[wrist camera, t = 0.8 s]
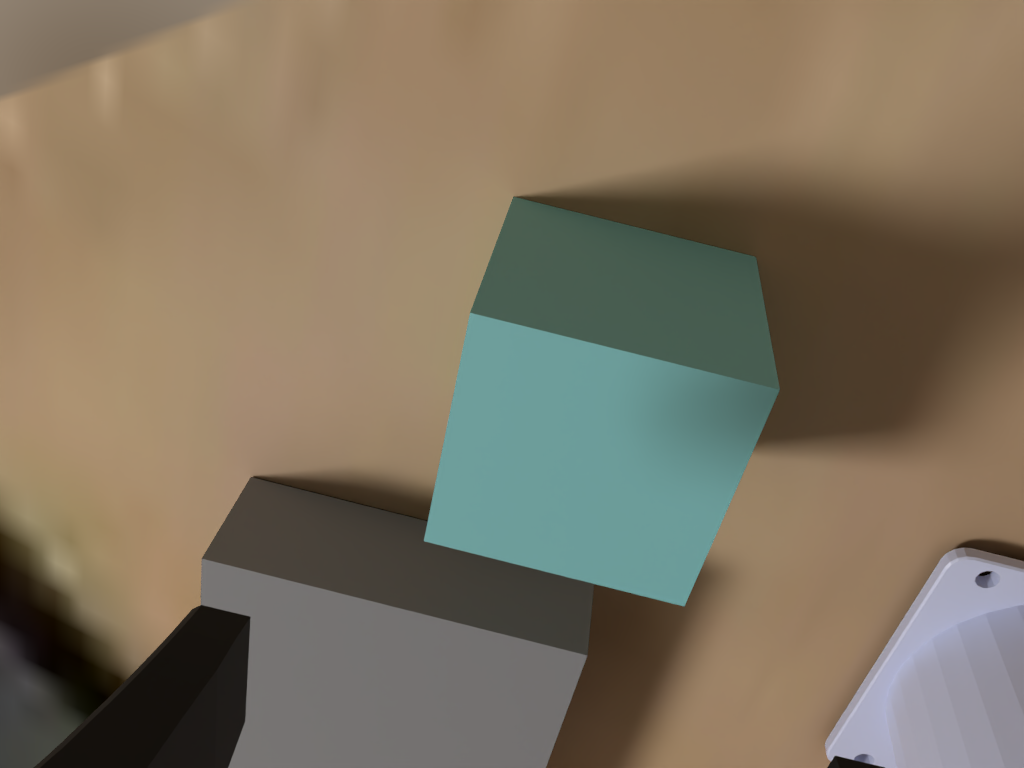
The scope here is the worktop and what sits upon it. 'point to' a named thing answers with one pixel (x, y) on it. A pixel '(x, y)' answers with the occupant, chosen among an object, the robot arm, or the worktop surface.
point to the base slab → (390, 640)
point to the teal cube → (603, 402)
